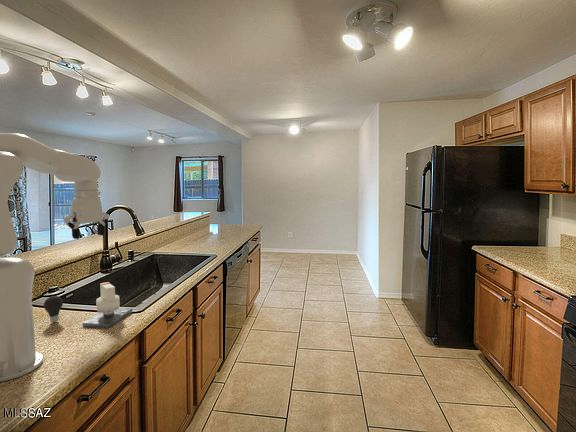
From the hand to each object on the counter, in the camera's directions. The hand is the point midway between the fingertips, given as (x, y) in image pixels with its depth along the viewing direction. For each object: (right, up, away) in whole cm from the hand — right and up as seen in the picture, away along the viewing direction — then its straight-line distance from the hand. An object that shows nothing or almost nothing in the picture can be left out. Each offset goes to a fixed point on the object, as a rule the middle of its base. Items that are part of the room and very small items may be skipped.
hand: (88, 236), depth 122 cm
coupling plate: (+12, -31, -6) cm, 34 cm away
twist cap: (+12, -27, -6) cm, 30 cm away
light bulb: (-7, -32, -9) cm, 34 cm away
